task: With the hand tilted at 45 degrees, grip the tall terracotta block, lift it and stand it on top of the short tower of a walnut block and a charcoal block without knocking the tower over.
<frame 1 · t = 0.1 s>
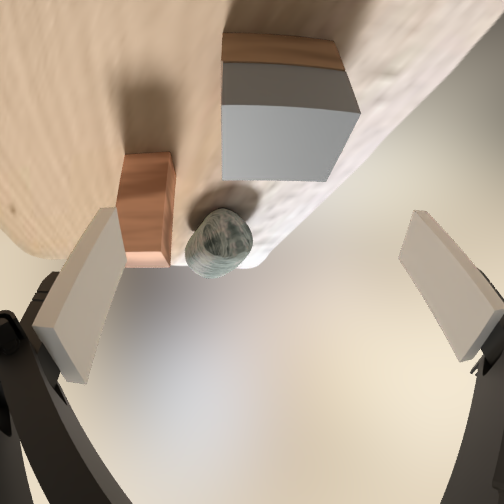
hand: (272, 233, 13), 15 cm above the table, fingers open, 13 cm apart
spool: (217, 221, 49), on the table
bottom slab: (272, 71, 23), on the table, touching top slab
tall block: (151, 166, 34), on the table
top slab: (278, 106, 21), point 4 cm above the table, touching bottom slab
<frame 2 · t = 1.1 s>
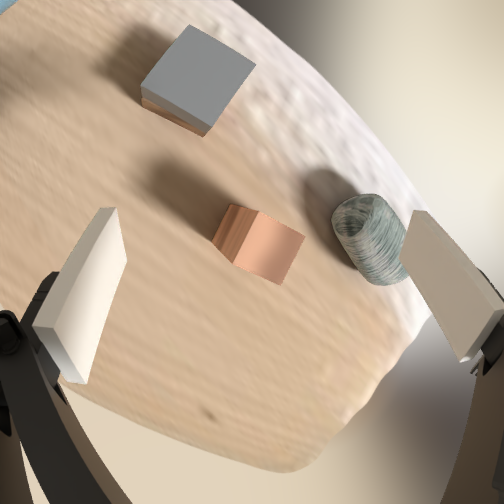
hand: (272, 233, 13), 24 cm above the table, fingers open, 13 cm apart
spool: (358, 236, 44), on the table
bottom slab: (189, 94, 34), on the table
tall block: (239, 231, 38), on the table
top slab: (194, 84, 30), point 4 cm above the table
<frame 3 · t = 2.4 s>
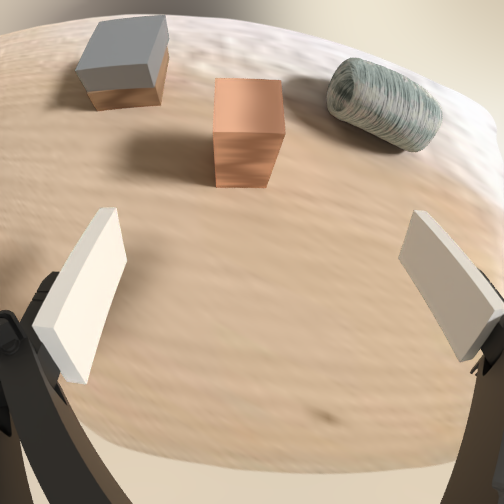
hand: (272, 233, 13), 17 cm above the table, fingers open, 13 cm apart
spool: (372, 122, 35), on the table
bottom slab: (134, 83, 33), on the table, touching top slab
tall block: (241, 165, 32), on the table
top slab: (128, 63, 29), point 4 cm above the table, touching bottom slab
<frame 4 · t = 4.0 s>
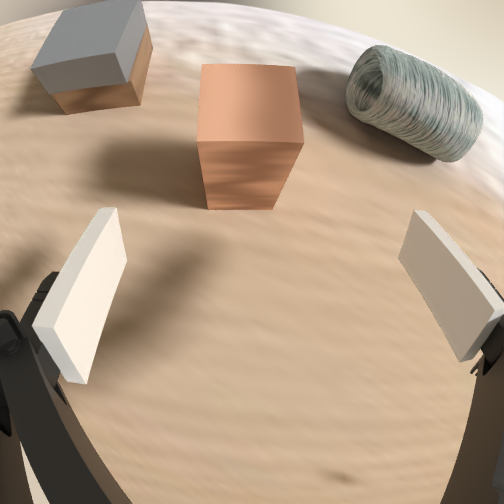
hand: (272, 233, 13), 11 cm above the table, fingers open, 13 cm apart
spool: (398, 124, 28), on the table
bottom slab: (110, 80, 27), on the table
tall block: (240, 179, 25), on the table
top slab: (97, 56, 23), point 4 cm above the table
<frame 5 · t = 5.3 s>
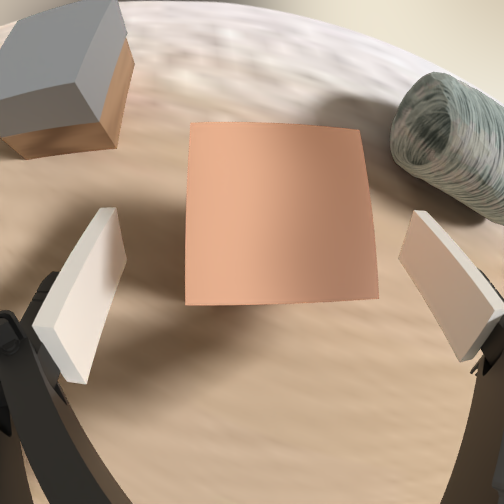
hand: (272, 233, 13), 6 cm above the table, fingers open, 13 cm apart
spool: (446, 172, 22), on the table
bottom slab: (79, 110, 20), on the table
tall block: (251, 262, 19), on the table
top slab: (61, 80, 16), point 4 cm above the table
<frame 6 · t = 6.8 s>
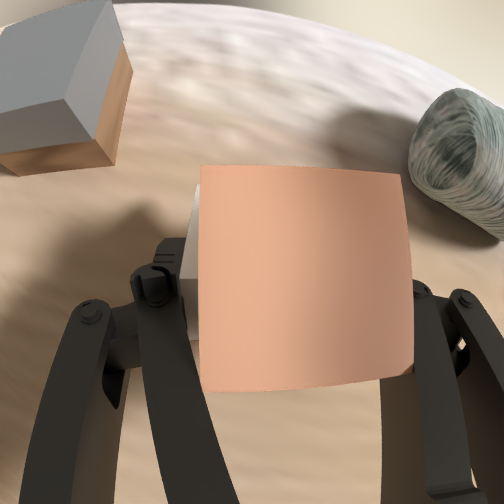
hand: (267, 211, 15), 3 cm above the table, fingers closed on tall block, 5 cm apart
spool: (463, 191, 20), on the table
bottom slab: (74, 122, 19), on the table, touching top slab
tall block: (261, 293, 18), on the table, touching gripper
top slab: (53, 92, 15), point 4 cm above the table, touching bottom slab
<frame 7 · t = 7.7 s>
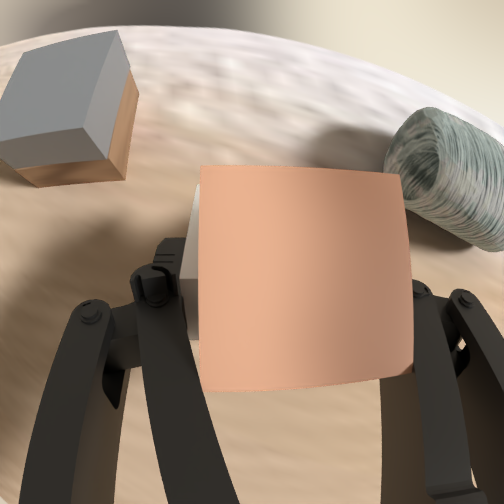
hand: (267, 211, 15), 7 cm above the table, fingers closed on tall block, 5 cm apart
spool: (438, 199, 23), on the table
bottom slab: (88, 140, 22), on the table, touching top slab
tall block: (261, 293, 18), point 3 cm above the table, touching gripper
top slab: (69, 114, 18), point 4 cm above the table, touching bottom slab
when the fingers open (12 cm above the table, at t = 13.9 s): tall block drops 1 cm, resting on top slab.
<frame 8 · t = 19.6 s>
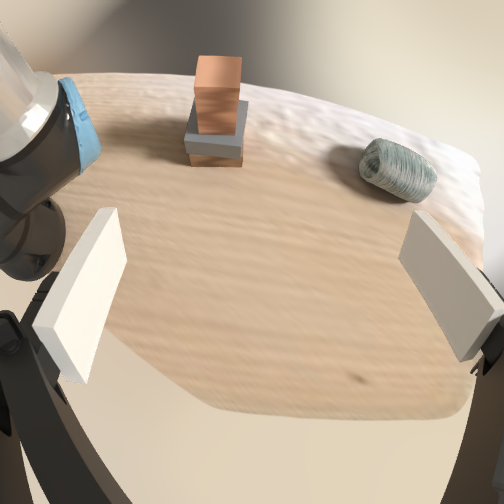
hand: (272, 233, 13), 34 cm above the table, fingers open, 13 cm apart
spool: (388, 179, 52), on the table
bottom slab: (217, 145, 50), on the table, touching top slab
tall block: (218, 120, 42), point 8 cm above the table, touching top slab
top slab: (217, 133, 46), point 4 cm above the table, touching bottom slab, tall block
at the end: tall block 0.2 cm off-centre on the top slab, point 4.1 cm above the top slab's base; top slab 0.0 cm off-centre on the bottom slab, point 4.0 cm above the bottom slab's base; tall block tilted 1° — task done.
